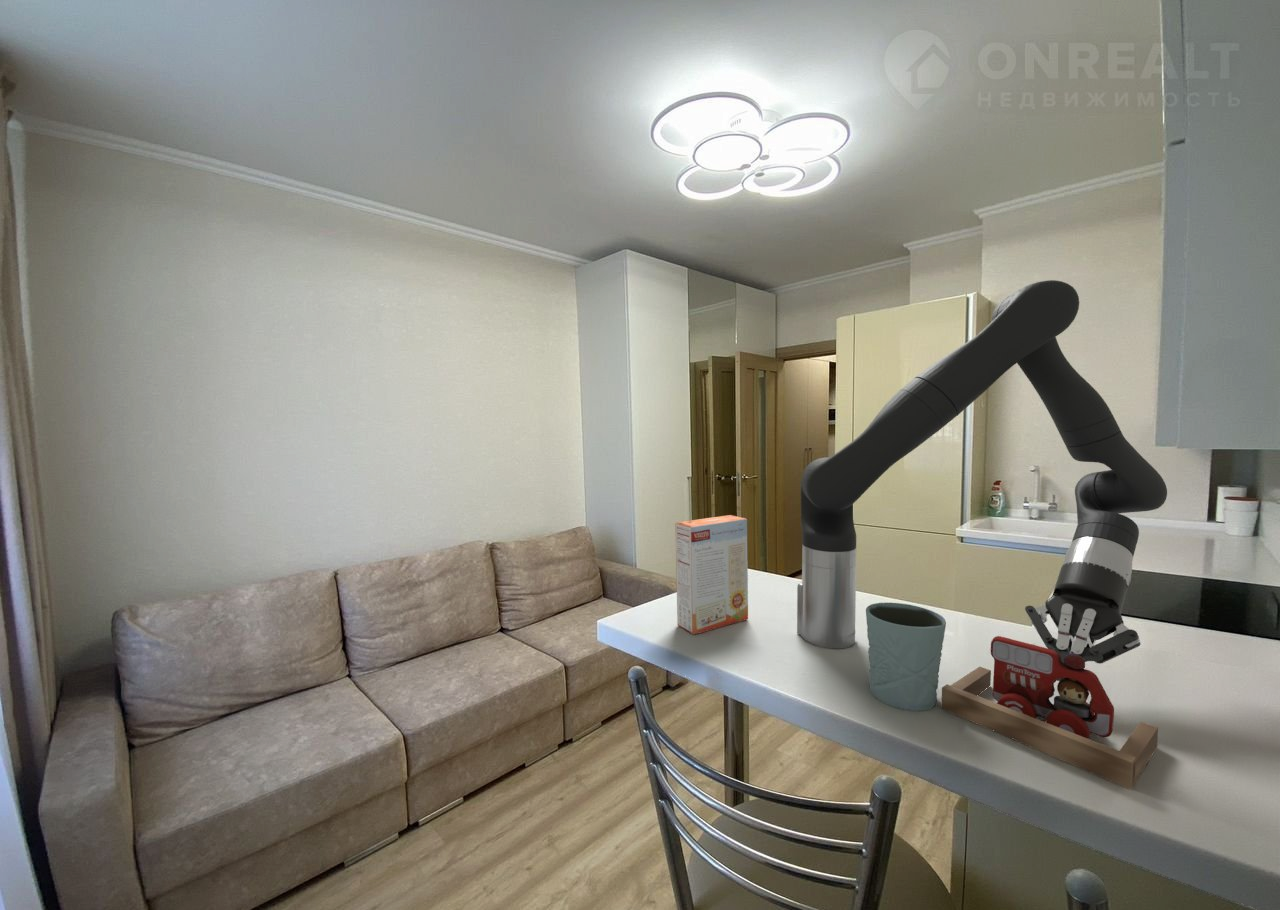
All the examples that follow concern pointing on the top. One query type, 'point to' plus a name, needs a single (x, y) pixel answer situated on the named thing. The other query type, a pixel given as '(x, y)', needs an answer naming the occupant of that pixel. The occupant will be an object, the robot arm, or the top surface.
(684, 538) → the cracker box
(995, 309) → the robot arm
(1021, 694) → the toy fire truck
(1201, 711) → the top surface
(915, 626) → the grey-green textured vase
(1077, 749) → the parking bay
